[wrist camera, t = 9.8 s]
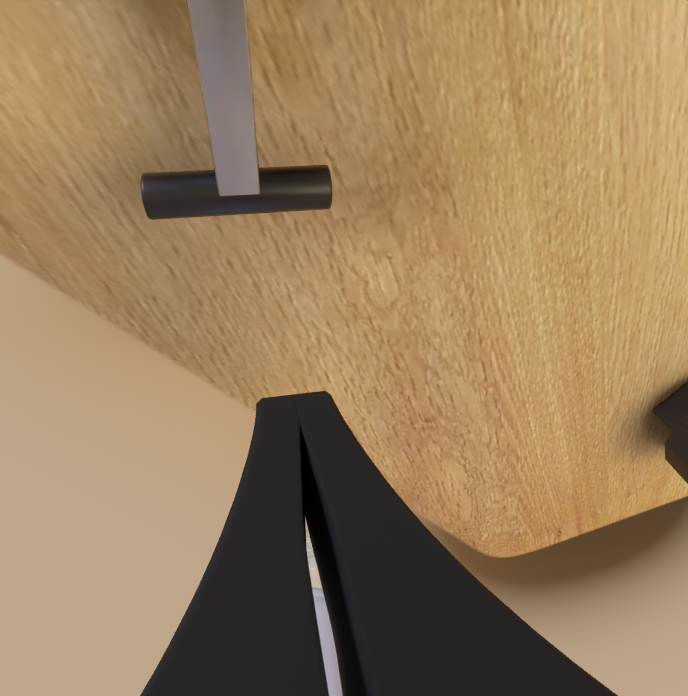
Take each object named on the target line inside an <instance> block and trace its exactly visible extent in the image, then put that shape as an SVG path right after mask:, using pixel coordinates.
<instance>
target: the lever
mask: <svg viewBox="0 0 688 696" xmlns="http://www.w3.org/2000/svg"><path fill="white" fill-rule="evenodd" d="M187 5H188V11H189V17H190V23H191V29H192V35H193V41H194V48H195V54H196V60H197V66H198V72H199V78H200V84H201V90H202V96H203V102H204V108H205V114H206V120H207V126H208V132H209V139H210V145H211V151H212V157H213V163H214V169H215V170H203V171H181V172H159V173H144V174H142V176H141V194H142V200H143V205H144V208H145V211H146V214H147V216H148V218H149V219H152V220H153V219H170V218H187V217H204V216H221V215H237V214H254V213H271V212H288V211H305V210H322V209H329V208H330V207H331V203H332V182H331V174H330V170H329V167H328V166H327V165H313V166H291V167H269V168H259V165H258V152H257V139H256V125H255V112H254V99H253V86H252V73H251V60H250V46H249V33H248V20H247V7H246V0H187Z"/></svg>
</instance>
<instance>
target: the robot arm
mask: <svg viewBox="0 0 688 696" xmlns="http://www.w3.org/2000/svg"><path fill="white" fill-rule="evenodd" d="M305 517H306V522H307V525H308V530H309V534H310V539H311V543H312V547H313V551H314V556H315V560H316V564H317V568H318V573H319V577H320V581H321V585H322V590H321V589H316V588H312V584H311V578H310V571H309V564H308V558H307V551H306V529H305ZM140 696H617V695H616V694H615V693H613V692H612V691H611V690H609V689H608V688H607V687H605V686H604V685H603V684H602V683H600V682H599V681H597V680H596V679H595V678H593V677H592V676H591V675H590V674H588V673H587V672H586V671H584V670H583V669H582V668H581V667H579V666H578V665H577V664H575V663H574V662H573V661H572V660H570V659H569V658H568V657H567V656H566V655H564V654H563V653H562V652H561V651H559V650H558V649H557V648H556V647H554V646H553V645H552V644H550V643H549V642H548V641H547V640H546V639H545V638H543V637H542V636H541V635H540V634H538V633H537V632H536V631H535V630H533V629H532V628H531V627H530V626H529V625H528V624H527V623H526V622H525V621H523V620H522V619H521V618H520V617H519V616H517V614H515V613H514V612H513V611H512V610H511V609H510V608H509V607H508V606H506V605H505V604H504V603H503V602H502V601H501V600H499V599H498V598H497V597H496V596H495V595H494V594H493V593H492V592H490V591H489V590H488V589H487V588H486V587H485V586H484V585H483V584H482V583H480V582H479V581H478V580H477V579H476V578H475V577H474V576H473V575H472V574H471V573H470V572H469V571H468V570H467V569H466V568H465V567H464V566H463V565H462V564H461V563H460V562H459V561H458V560H457V559H456V558H454V556H453V555H451V553H450V552H449V551H448V550H447V549H446V548H445V547H444V546H443V545H442V544H441V543H440V542H439V541H438V540H437V539H436V538H435V537H434V536H433V535H432V533H431V532H430V531H429V530H428V529H427V528H426V527H425V526H424V525H423V524H422V523H421V521H420V520H419V519H418V518H417V517H416V516H415V514H414V513H413V512H412V511H411V510H410V509H409V507H408V506H407V505H406V504H405V503H404V501H403V500H402V499H401V498H400V497H399V496H398V494H397V493H396V492H395V491H394V489H393V488H392V487H391V486H390V484H389V483H388V482H387V481H386V479H385V478H384V477H383V475H382V474H381V473H380V471H379V470H378V469H377V467H376V466H375V465H374V463H373V462H372V460H371V459H370V458H369V456H368V455H367V454H366V452H365V451H364V449H363V448H362V447H361V445H360V444H359V442H358V441H357V439H356V438H355V436H354V435H353V433H352V431H351V430H350V428H349V427H348V425H347V424H346V422H345V420H344V419H343V417H342V415H341V413H340V412H339V410H338V408H337V406H336V404H335V402H334V400H333V398H332V396H331V395H330V394H329V393H328V392H326V391H320V392H312V393H303V394H294V395H286V396H277V397H268V398H262V399H261V400H260V401H259V402H258V403H256V418H255V425H254V431H253V436H252V440H251V445H250V449H249V453H248V457H247V460H246V463H245V467H244V470H243V473H242V477H241V480H240V484H239V487H238V490H237V493H236V496H235V499H234V501H233V504H232V507H231V509H230V512H229V515H228V517H227V520H226V523H225V526H224V528H223V531H222V533H221V536H220V538H219V541H218V543H217V546H216V548H215V550H214V553H213V555H212V558H211V560H210V562H209V564H208V566H207V569H206V571H205V573H204V575H203V578H202V580H201V582H200V584H199V586H198V588H197V590H196V592H195V595H194V597H193V599H192V601H191V603H190V605H189V607H188V609H187V611H186V613H185V615H184V616H183V619H182V621H181V623H180V624H179V627H178V628H177V630H176V632H175V634H174V636H173V638H172V640H171V642H170V644H169V646H168V648H167V649H166V651H165V653H164V655H163V657H162V659H161V661H160V662H159V664H158V666H157V668H156V670H155V671H154V673H153V675H152V677H151V678H150V680H149V682H148V683H147V685H146V687H145V688H144V690H143V692H142V694H141V695H140Z"/></svg>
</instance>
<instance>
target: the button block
mask: <svg viewBox="0 0 688 696" xmlns="http://www.w3.org/2000/svg"><path fill="white" fill-rule="evenodd" d="M653 411H654V413H655V414H656V415H657V416H658V417H659V418H660V419H661V420H662V421H663V422H664V423H665V424H666V425H667V426H668V427H669V428H670V429H671V430H672V433H671V434H670V436H669V437H668V439H667V440H666V442H665V459H666V460H667V461H668V462H669V464H670V465H671V466H672V467H673V468H674V469H675V470H676V471H677V472H678V474H679V475H680V476H681V477H682V478H683V479H684V480H685V481H686V482H687V483H688V382H687V383H686V384H685V385H684V386H683V387H681V388H680V389H679V390H678V391H676V392H675V393H674V394H673V395H672V396H670V397H669V398H668V399H667V400H665V401H664V402H663V403H662V404H661V405H659V406H658V407H657V408H656V409H654V410H653Z"/></svg>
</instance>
